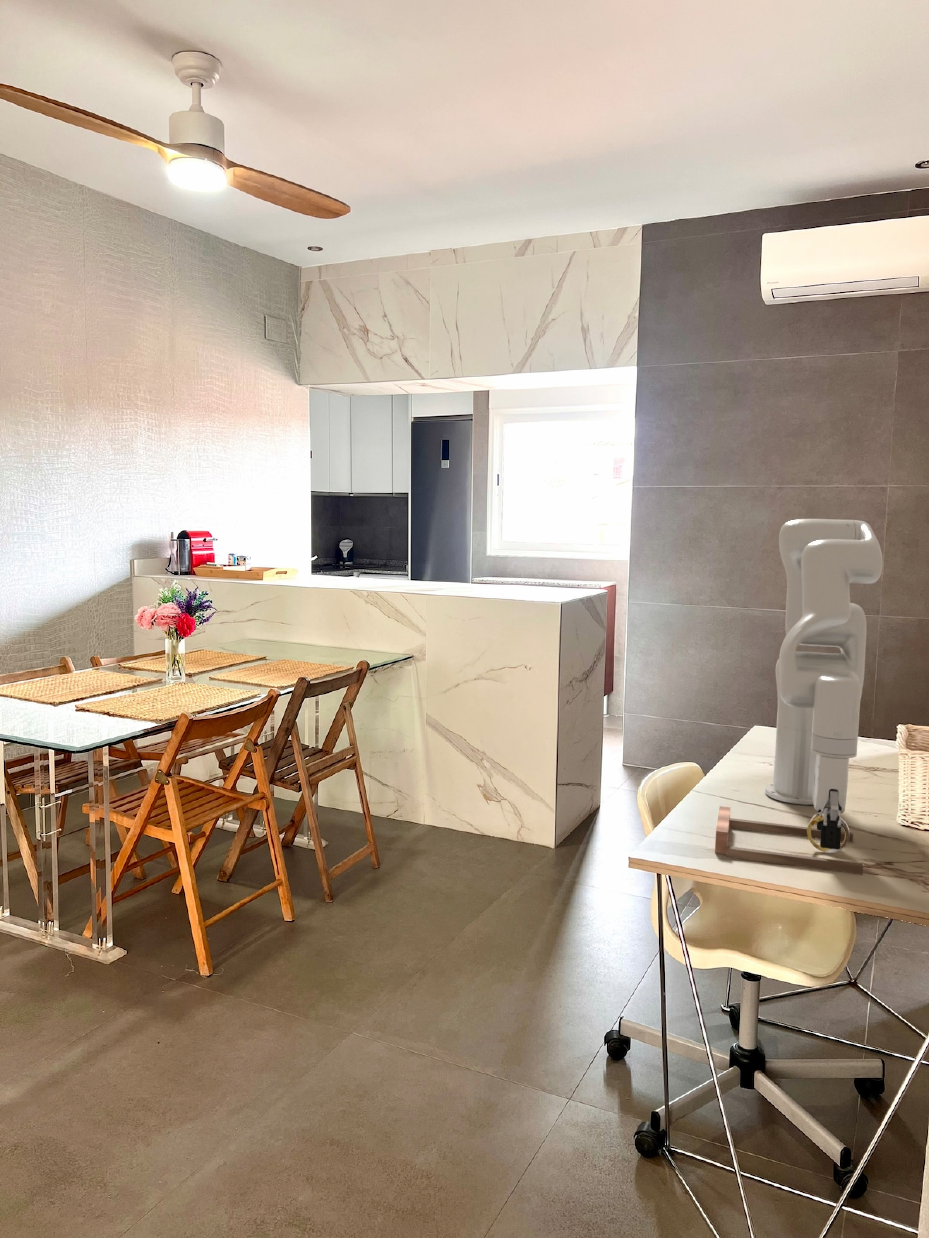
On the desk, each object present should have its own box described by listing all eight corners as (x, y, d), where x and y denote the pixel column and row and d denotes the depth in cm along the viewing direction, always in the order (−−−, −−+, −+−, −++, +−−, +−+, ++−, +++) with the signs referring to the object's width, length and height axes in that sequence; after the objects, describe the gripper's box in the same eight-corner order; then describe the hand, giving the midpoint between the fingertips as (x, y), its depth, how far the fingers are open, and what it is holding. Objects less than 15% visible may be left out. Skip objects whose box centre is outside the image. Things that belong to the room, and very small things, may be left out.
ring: (848, 853, 159) (851, 810, 158) (847, 859, 156) (850, 815, 155) (806, 846, 162) (809, 803, 161) (805, 852, 159) (807, 808, 159)
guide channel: (718, 824, 173) (719, 804, 173) (852, 840, 166) (853, 819, 166) (714, 854, 157) (715, 832, 157) (862, 874, 150) (864, 851, 149)
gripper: (808, 733, 166) (803, 821, 168) (814, 754, 150) (807, 852, 152) (852, 736, 164) (846, 826, 166) (862, 758, 148) (855, 858, 149)
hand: (827, 838), depth 159 cm, fingers open, 9 cm apart
